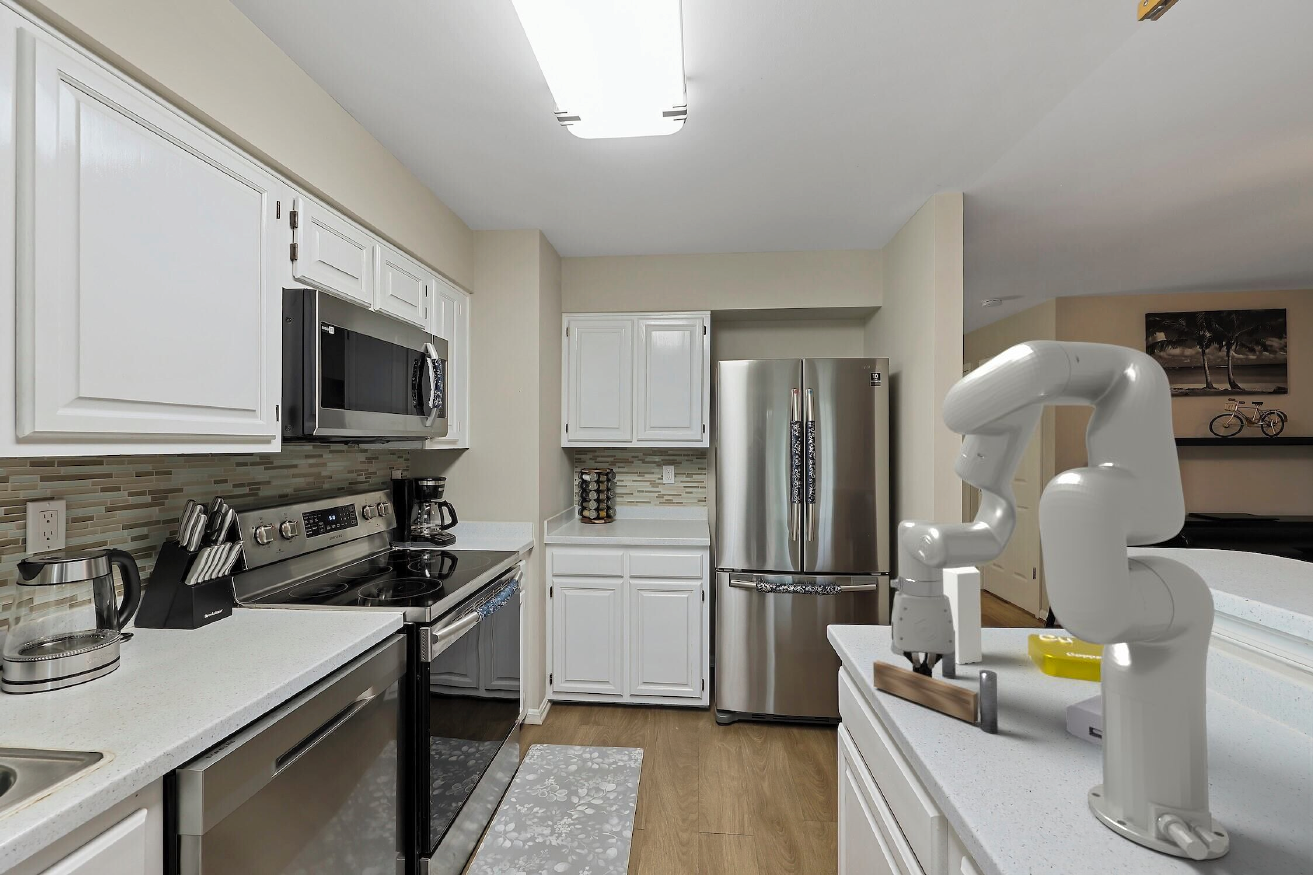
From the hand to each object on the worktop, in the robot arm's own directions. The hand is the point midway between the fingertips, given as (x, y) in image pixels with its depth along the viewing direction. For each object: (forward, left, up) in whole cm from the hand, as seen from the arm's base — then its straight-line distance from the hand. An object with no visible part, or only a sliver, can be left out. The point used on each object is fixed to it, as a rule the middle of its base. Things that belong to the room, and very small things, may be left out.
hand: (922, 687), depth 105 cm
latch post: (+9, -7, -1) cm, 11 cm away
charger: (-10, -27, -1) cm, 29 cm away
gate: (-6, +1, -1) cm, 6 cm away
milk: (+20, -12, -1) cm, 23 cm away
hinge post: (-13, -7, -1) cm, 15 cm away
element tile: (+20, -34, -2) cm, 39 cm away
